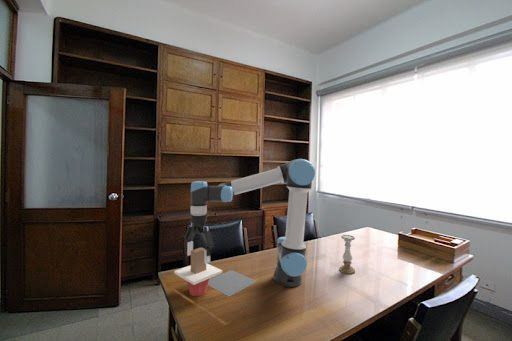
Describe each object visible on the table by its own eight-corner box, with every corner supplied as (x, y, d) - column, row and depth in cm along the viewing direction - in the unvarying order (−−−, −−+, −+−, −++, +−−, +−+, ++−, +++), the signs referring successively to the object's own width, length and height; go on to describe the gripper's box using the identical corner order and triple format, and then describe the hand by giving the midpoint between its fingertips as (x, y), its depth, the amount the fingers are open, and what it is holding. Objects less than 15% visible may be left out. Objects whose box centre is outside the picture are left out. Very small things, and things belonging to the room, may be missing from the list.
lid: (222, 272, 117) (222, 249, 117) (193, 284, 106) (194, 259, 105) (202, 263, 128) (202, 242, 128) (174, 273, 116) (174, 250, 116)
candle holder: (356, 274, 139) (357, 239, 138) (340, 273, 141) (341, 238, 140) (353, 268, 148) (354, 235, 147) (338, 267, 149) (339, 233, 149)
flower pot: (204, 300, 111) (204, 279, 111) (182, 297, 113) (182, 276, 113) (213, 289, 121) (213, 269, 121) (192, 286, 123) (192, 267, 123)
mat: (257, 282, 128) (257, 281, 128) (228, 298, 113) (229, 296, 113) (231, 271, 141) (231, 269, 141) (202, 283, 126) (202, 282, 126)
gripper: (222, 216, 110) (221, 263, 111) (190, 209, 127) (190, 250, 128) (208, 219, 105) (208, 268, 105) (177, 211, 121) (177, 253, 122)
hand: (198, 258), depth 117 cm, fingers open, 13 cm apart
